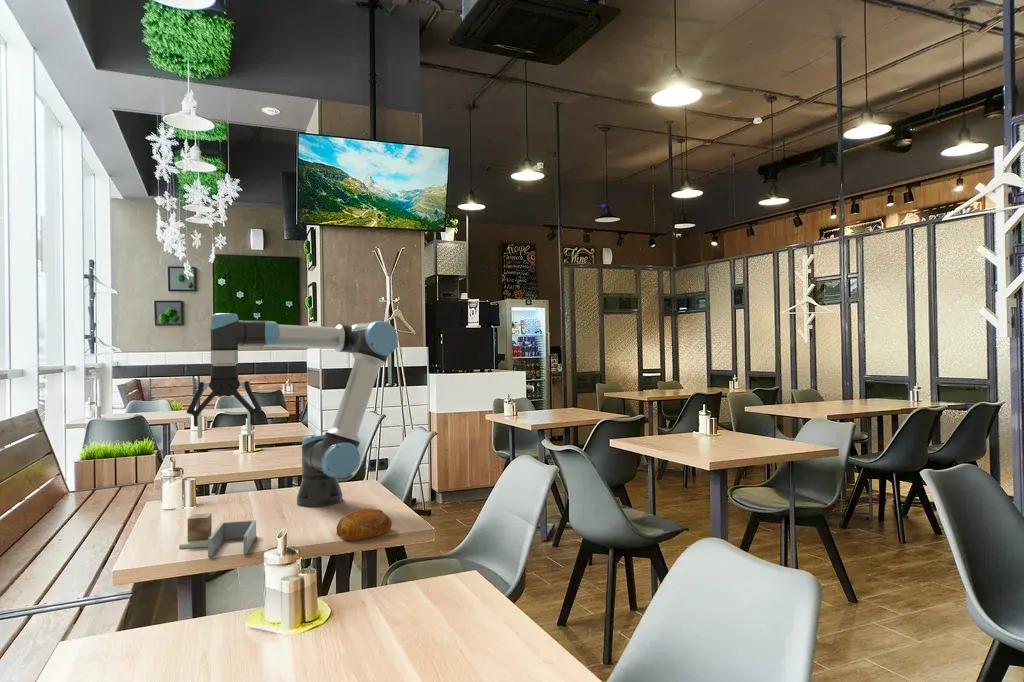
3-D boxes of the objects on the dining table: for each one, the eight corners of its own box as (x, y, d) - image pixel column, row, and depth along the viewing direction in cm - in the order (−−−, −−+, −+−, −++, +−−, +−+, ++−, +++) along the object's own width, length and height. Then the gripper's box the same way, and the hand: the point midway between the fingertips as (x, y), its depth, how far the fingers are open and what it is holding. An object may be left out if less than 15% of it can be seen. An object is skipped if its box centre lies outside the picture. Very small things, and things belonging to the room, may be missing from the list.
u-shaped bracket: (256, 536, 181) (256, 520, 181) (246, 553, 165) (246, 536, 165) (221, 538, 179) (221, 522, 179) (208, 557, 163) (208, 539, 163)
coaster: (218, 538, 180) (218, 534, 180) (212, 546, 172) (212, 542, 172) (186, 540, 178) (186, 536, 178) (179, 548, 170) (179, 544, 170)
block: (211, 534, 179) (211, 513, 179) (207, 539, 174) (207, 517, 175) (191, 536, 178) (191, 514, 178) (187, 541, 173) (187, 518, 173)
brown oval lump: (399, 540, 183) (402, 512, 184) (351, 544, 172) (355, 514, 173) (371, 530, 193) (374, 503, 194) (323, 533, 183) (327, 504, 183)
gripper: (270, 364, 200) (270, 433, 199) (181, 365, 194) (182, 436, 193) (267, 364, 193) (268, 436, 192) (175, 366, 186) (175, 440, 186)
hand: (224, 436), depth 193 cm, fingers open, 13 cm apart
